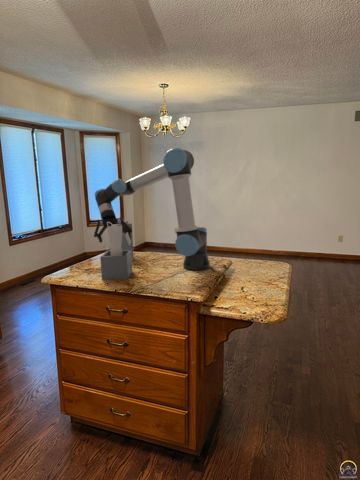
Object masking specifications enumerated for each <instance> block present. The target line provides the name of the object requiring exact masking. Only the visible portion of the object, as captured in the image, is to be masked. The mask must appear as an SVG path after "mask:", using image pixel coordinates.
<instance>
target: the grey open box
mask: <svg viewBox="0 0 360 480" xmlns="http://www.w3.org/2000/svg"><path fill="white" fill-rule="evenodd" d="M110 253H111V251H110V250H106V251H104V253H102V254H101V256H100V255H99V256H100V257H99V258H100V271H101V280H102V281H103V280H129V278H130V277H131V275H132V273H133V272H134V271H133V258H132V250H122V253H123V256H110Z"/></svg>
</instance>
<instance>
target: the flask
mask: <svg viewBox="0 0 360 480" xmlns="http://www.w3.org/2000/svg"><path fill="white" fill-rule="evenodd" d="M116 219H117V220H119V219H120V218H116ZM123 221H124V222H125V223H126V224H127V225H128V226H129V227H130V228H131V229H132V230H133V223H132V222H129V220H123ZM118 223H119V222H118ZM120 225H121V224H120ZM125 235H126V234H125V233H123V232H122V245H121V248H122V250H132V259H134V239H133V238H134V235H133V232H132V233H131V234H130V235H131V239H130V240H131V244H130V245H128V242H127V239H126V236H125ZM108 245H109V246H110V244H108ZM109 251H111V248H110V247H109Z"/></svg>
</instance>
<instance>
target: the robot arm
mask: <svg viewBox="0 0 360 480" xmlns="http://www.w3.org/2000/svg"><path fill="white" fill-rule="evenodd" d="M162 161H163V162H162V164H160V165H159V166H156V167H154V168H152V169H150V170H148V171H146V172H144V173H141V174H139V175H136V176H135V177H133V178H130V179H128V180H127V181H124V180H123V179H121V178H116V179H115V180H113V181H112V182H111V183H110V184H109V185H108V186H107V187H106V188H100V189H97V190H96V191H95V192H94V198H95V202H96V205H97V207H98V212H99V214H100V219H101V220H99V219H97V221H96V227H95V230H94V234H93V237H94V238H97V239H98V242H99V243H101V246H102V249H105V248H106V242H105V240H104V237H103V234H104V232H105V231H106V229H108V226H112V225H113V224H121V225H122V232H123V233H125V234H126V235H125V236H126V239H127V242H128V245H130V244H131V240H130V239H131V235H130V234H131V233H132V234H133V228H132V229H131V228H130V227H129V226H128V225H127V224H126V223H125V222H124V221H125V220H124V218H123V217H122V218H121V217H120V218H117V217H116V214H115V211H114V208H113V204H112V202H114V201H115V200H116V199H117V198H118V197H122V196H130V195H133V194H134V193H136V192H137V191H139V190H140V191H141V190H142V189H144V188H146V187H149V186H151V185H153V184H155V183H158V182H161V181H163V180H164V179H167V178H168V179H169V180H171V182H172V189H173V197H174V198H173V199H174V204H175V212H176V219H177V226H178V227H177V229H176V230H175V233H176V240H175V242H174V243H175V245H174V246H175V249H176V251H177V252H178V253H179V254H180V255H181V256H184V260H183V263H182V265H183V266H182V267H183V268H184V269H186V270H189V271H204V270H208V269H210V268H211V263H210V260H209V257H208V254H207V253H208V250H207V249H208V248H207V247H208V241H207V240H208V239H207V238H208V237H207V236H208V231H207V227H205V226H204V227H203V226H197V225H196V223H195V222H196V221H195V216H194V209H193V201H192V193H191V187H190V185H191V184H190V177H191V176H192V168H194V164H195V157H194V156H193V154H192V153H191V152H190V151H188V150H187V149H182V148H177V147H175V148H174V147H173V148H171V149H169V150H167V151H166V153H165V154H164V155H163V159H162ZM117 219H119V220H117ZM107 222H110V223H111V224H112V225H111V224H110V223H108V226H107ZM118 222H119V223H118ZM101 225H102V226H103V227H102V228H101V229H100V227H101ZM121 225H118V226H121Z"/></svg>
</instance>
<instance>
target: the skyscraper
mask: <svg viewBox="0 0 360 480" xmlns="http://www.w3.org/2000/svg"><path fill="white" fill-rule="evenodd" d="M108 223H110V222H107V226H108ZM110 224H111V223H110ZM111 225H112V224H111ZM118 225H120V224H113V225H112V226H108V228H107V237H108V243H109V244H110V245H109V244H108V245H109V249H110V248H111V253H110V256H123V253H122V248H121V245H122V225H121V226H118Z"/></svg>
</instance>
